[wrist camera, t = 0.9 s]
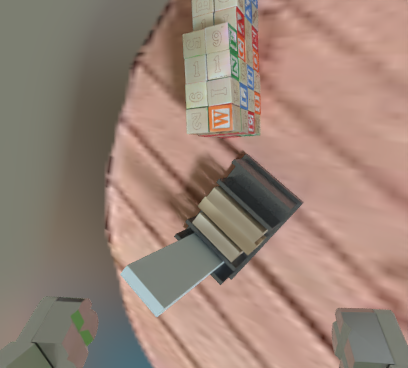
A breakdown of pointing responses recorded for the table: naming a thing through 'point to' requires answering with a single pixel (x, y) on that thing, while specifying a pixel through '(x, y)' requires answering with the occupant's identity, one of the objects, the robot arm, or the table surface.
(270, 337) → the table surface
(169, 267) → the tall panel
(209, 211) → the offcut
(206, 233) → the offcut
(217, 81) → the stack of blocks
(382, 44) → the table surface
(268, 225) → the slot rack
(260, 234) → the offcut
